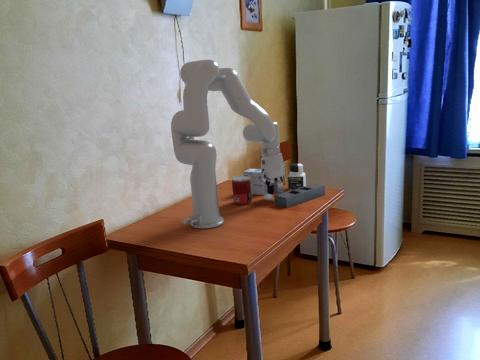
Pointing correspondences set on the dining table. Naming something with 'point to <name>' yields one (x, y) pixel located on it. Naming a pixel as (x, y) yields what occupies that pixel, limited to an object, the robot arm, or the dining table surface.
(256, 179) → the light bulb box
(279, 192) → the clip
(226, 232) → the dining table surface
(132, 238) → the dining table surface
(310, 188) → the grey slotted block
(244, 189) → the canned food
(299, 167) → the medicine bottle
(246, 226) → the dining table surface
